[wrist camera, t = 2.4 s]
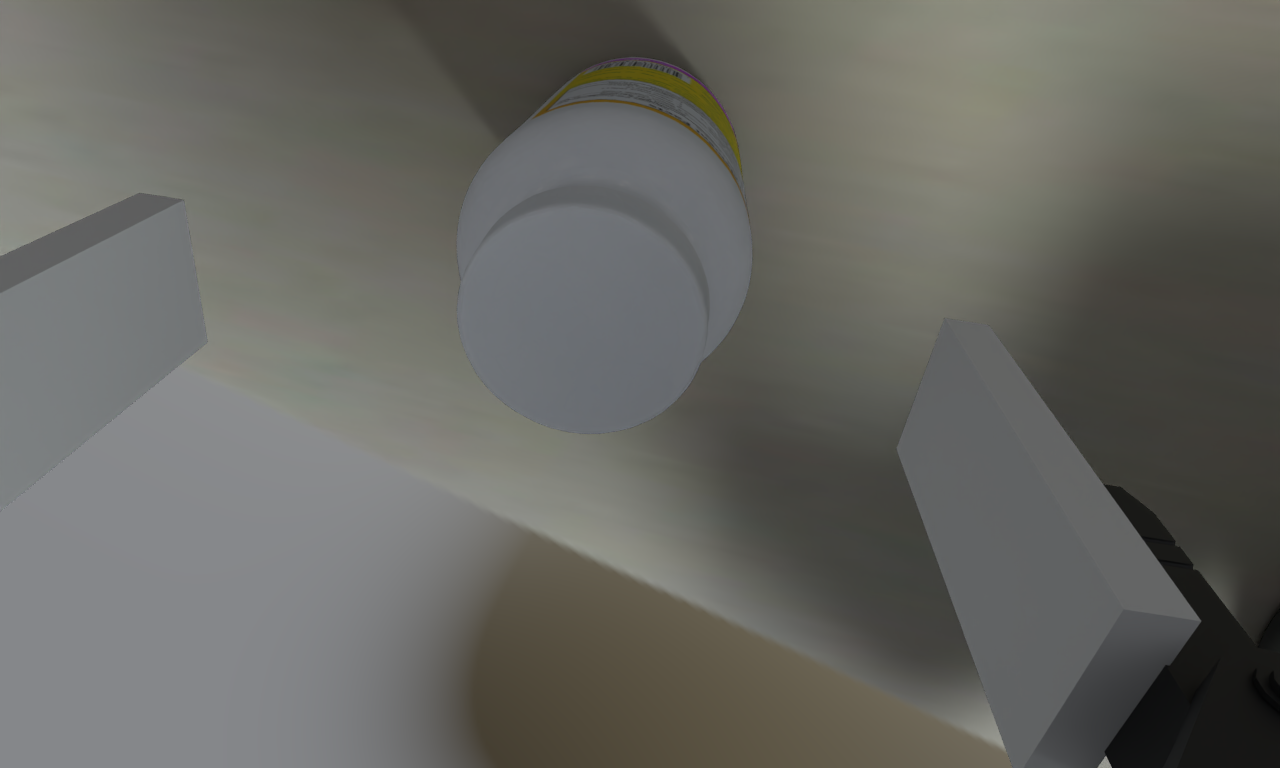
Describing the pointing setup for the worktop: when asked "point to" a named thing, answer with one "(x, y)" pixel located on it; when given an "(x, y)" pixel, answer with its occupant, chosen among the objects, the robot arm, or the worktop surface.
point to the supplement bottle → (605, 248)
